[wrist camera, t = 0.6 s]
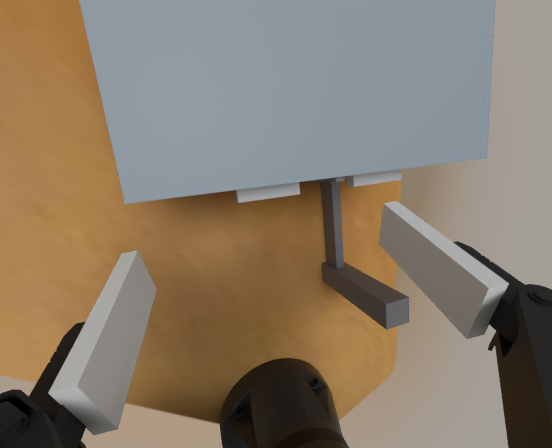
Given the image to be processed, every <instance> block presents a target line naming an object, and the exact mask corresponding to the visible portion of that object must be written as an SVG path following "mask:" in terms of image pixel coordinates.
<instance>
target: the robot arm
mask: <svg viewBox="0 0 552 448" xmlns="http://www.w3.org/2000/svg"><path fill="white" fill-rule="evenodd" d="M379 245H380V246H381V247H382V248H383V249H384V250H385V251H386V252H387V253H388V254H389V256H390V257H391V258H392V259H393V260H394V261H395V262H396V263H397V264H398V265H399V266H400V267H401V268H402V270H403V271H404V272H405V273H406V274H407V275H408V276H409V277H410V278H411V279H412V280H413V281H414V283H415V284H416V285H417V286H418V287H419V288H420V289H421V290H422V291H423V292H424V293H425V295H426V296H427V297H428V298H429V299H430V300H431V301H432V302H433V303H434V304H435V305H436V306H437V308H438V309H439V310H441V312H442V313H443V314H444V315H445V316H446V317H447V318H448V319H449V321H450V322H451V323H452V324H453V325H454V326H455V327H456V328H457V329H458V330H459V331H460V332H461V333H462V335H463V336H464V337H465V338H466V339H468V338H472V337H476V336H480V335H484V333H485V332H486V329H487V327H488V325H489V324H490V325H491V326H492V327H493V328H494V329H495V330H496V333H495V335H494V337H493V338H492V341H491V342H490V344H489V347H488V350H490V351H492V349H493V347H494V346H495V347H496V354H497V362H498V370H499V378H500V385H501V393H502V400H503V408H504V416H505V424H506V431H507V439H508V446H509V448H552V290H551V289H549V288H546V287H543V286H539V285H533V284H528V285H525V284H523V283H521V282H520V281H518V280H517V279H516V278H514V277H513V276H512V275H510V274H509V273H507V272H506V271H504V270H503V269H501V268H500V267H499V266H497V265H496V264H494V263H493V262H490V261H489V259H487V258H486V257H484V256H481V254H480V253H479V252H477V251H476V250H474V249H473V248H472V247H469V246H467V245H465V244H463V243H460V242H458V241H457V242H452V241H450V240H449V239H448V238H446V237H445V236H443V235H442V234H441V233H439V232H438V231H436V230H435V229H434V228H433V227H431V226H430V225H428V224H427V223H426V222H425V221H423V220H422V219H420V218H419V217H418V216H416V215H415V214H413V213H412V212H411V211H410V210H408V209H407V208H405V207H404V206H403V205H401V204H400V203H399V202H397V201H394V202H388V203H384V204H383V212H382V221H381V229H380V237H379ZM156 291H157V289H156V287H155V285H154V283H153V281H152V279H151V277H150V275H149V272H148V270H147V268H146V266H145V264H144V262H143V260H142V258H141V256H140V254H139V252H138V250H137V251H132V252H126V253H122V254H121V256H120V258H119V260H118V262H117V264H116V266H115V267H114V269H113V271H112V273H111V275H110V277H109V279H108V281H107V283H106V285H105V286H104V288H103V290H102V292H101V294H100V296H99V298H98V300H97V302H96V303H95V305H94V307H93V309H92V311H91V313H90V315H89V317H88V319H87V321H86V322H82V323H77V324H75V325H74V326H73V327H72V328H71V329H70V330H69V331H68V333H67V334H66V335H65V336H64V337H63V339H62V340H61V342H60V344H59V346H58V347H57V351H56V352H54V354H53V356H52V358H51V359H50V363H48V365H47V366H46V368H45V370H44V371H43V373H42V375H41V377H40V378H39V380H38V382H37V383H36V385H35V387H34V389H33V390H32V392H31V394H30V395H29V397H28V396H27V395H26V394H25V393H24V392H22V391H21V390H10V391H7V392H3V393H1V394H0V448H86V446H85V444H84V443H82V441H81V439H82V436H83V433H84V431H85V428H87V429H88V430H89V431H90V432H91V433H92V434H93V435H97V434H101V433H105V432H108V431H112V430H116V429H118V426H119V423H120V419H121V416H122V412H123V409H124V405H125V401H126V398H127V394H128V391H129V387H130V384H131V380H132V377H133V373H134V369H135V366H136V362H137V359H138V355H139V352H140V348H141V344H142V341H143V337H144V334H145V330H146V327H147V323H148V320H149V316H150V312H151V309H152V305H153V302H154V298H155V295H156ZM220 431H221V439H222V446H223V448H349V447H348V445H347V443H346V442H345V440H344V438H343V436H342V433H341V429H340V425H339V421H338V417H337V413H336V409H335V405H334V401H333V397H332V394H331V391H330V389H329V387H328V385H327V383H326V382H325V380H324V379H323V377H322V376H321V374H320V373H319V372H318V370H317V369H316V368H314V367H313V366H312V365H310V364H308V363H306V362H304V361H301V360H296V359H281V360H275V361H272V362H269V363H266V364H264V365H261V366H260V367H258V368H256V369H254V370H253V371H251V372H250V373H248V374H247V375H246V376H245V377H244V378H242V379H241V380H240V381H239V382H238V384H237V385H236V386H235V387H234V388H233V390H232V391H231V392H230V394H229V396H228V397H227V399H226V401H225V403H224V406H223V409H222V412H221V418H220Z"/></svg>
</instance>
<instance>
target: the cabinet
mask: <svg viewBox="0 0 552 448" xmlns="http://www.w3.org/2000/svg"><path fill="white" fill-rule="evenodd" d="M495 1H496V0H79V2H80V6H81V10H82V15H83V19H84V24H85V28H86V33H87V37H88V42H89V46H90V50H91V55H92V59H93V64H94V68H95V73H96V77H97V81H98V86H99V90H100V95H101V99H102V104H103V108H104V113H105V117H106V121H107V126H108V130H109V135H110V139H111V144H112V148H113V153H114V157H115V161H116V166H117V170H118V175H119V179H120V184H121V188H122V192H123V197H124V201H125V204H129V203H137V202H145V201H153V200H161V199H169V198H177V197H185V196H192V195H200V194H208V193H216V192H224V191H232V190H235V196H236V202H238V203H241V202H248V201H255V200H262V199H270V198H277V197H284V196H291V195H298V194H300V188H299V182H303V181H313V182H339V181H345V178H344V176H347V186H352V187H355V186H362V185H369V184H376V183H383V182H390V181H397V180H401V169H406V168H413V167H421V166H429V165H437V164H445V163H453V162H461V161H468V160H477V159H484V158H487V147H488V130H489V111H490V93H491V74H492V55H493V38H494V20H495Z"/></svg>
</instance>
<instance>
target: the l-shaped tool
mask: <svg viewBox="0 0 552 448" xmlns="http://www.w3.org/2000/svg"><path fill="white" fill-rule="evenodd" d="M321 187H322V201H323V215H324V229H325V243H326V257H327V262H325V263H322V273H323V281H324V282H325V283H326V284H328V285H329V286H330V287H332V288H333V289H334V290H336V291H337V292H338V293H340V294H341V295H342V296H343V297H345V298H346V299H347V300H349V301H350V302H351V303H353V304H354V305H355V306H357V307H358V308H359V309H360V310H362V311H363V312H364V313H366V314H367V315H368V316H370V317H371V318H372V319H373V320H375V321H376V322H377V323H379V324H380V325H381V326H383V327H384V328H385V329H390V328H393V327H396V326H399V325H402V324H404V323H408V322H409V297H407V296H405V295H403V294H402V293H400V292H398V291H396V290H394V289H392V288H391V287H389V286H387V285H385V284H383V283H381V282H380V281H378V280H376V279H374V278H372V277H370V276H368V275H367V274H365V273H363V272H361V271H359V270H357V269H355V268H354V267H352V266H350V265H348V264H346V263H344V259H343V242H342V224H341V207H340V190H339V182H321Z"/></svg>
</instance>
